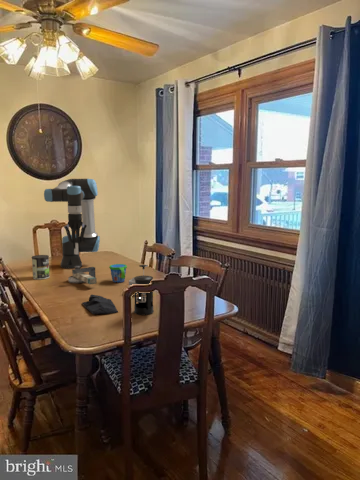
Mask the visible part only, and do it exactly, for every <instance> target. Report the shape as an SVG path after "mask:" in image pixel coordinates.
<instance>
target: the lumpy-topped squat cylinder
mask: <svg viewBox="0 0 360 480" xmlns="http://www.w3.org/2000/svg"><path fill="white" fill-rule="evenodd" d="M132 284H136V283H135V279H134V277H132V278H131V279H129V280H128V286H129V285H132ZM136 294H137V293H136ZM142 294H143V293H142ZM144 296H146V293H144Z"/></svg>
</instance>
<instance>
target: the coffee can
mask: <svg viewBox="0 0 360 480" xmlns="http://www.w3.org/2000/svg"><path fill="white" fill-rule="evenodd" d="M49 258H50V256H49V255H48V254H38V255H36V254H35V255H31V265H32V267H31V269H32V279H33V280H46V279H49V278H50V265H49V264H50V262H49V261H50V260H49Z"/></svg>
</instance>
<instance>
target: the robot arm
mask: <svg viewBox="0 0 360 480" xmlns="http://www.w3.org/2000/svg"><path fill="white" fill-rule="evenodd" d="M94 179H95V178H94ZM94 179H93V178H69V179H65V180H63V181H60V182H59V183H58V184H57V186H55V187H54V188H45V189H44V191H43V192H44V193H43V197H44V201H45V202H50V203H54V202H55V203H56V202H58V203H61V202H62V203H63V202H64V203H65V202H66V203H67V213H68V214H67V219H68V220H67V221H68V222H67V224H66V225H63V228H64V229H65V232H66V235H64V236H63V237H62V239H61V244H62V245H61V246H62V249H61V250H62V257H61V262H60V268H62V269H75V268H74V266H80V268H81V267H82V266H83V262H82V260H81V257H80V253H97V252H99V249H100V241H101V237H100V235H98V232H96V222H95V221H96V219H95V205H94V200H96V197H97V196H98V195H99V194H98V193H99V191H98V186H97V182H96V180H94Z"/></svg>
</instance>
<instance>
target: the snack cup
mask: <svg viewBox="0 0 360 480" xmlns="http://www.w3.org/2000/svg"><path fill="white" fill-rule="evenodd" d="M127 268H128V266H127V265H126V264H124V263H116V264H115V263H114V264H111V265H109V269H110V276H111V281H112V282H113V283H115V284H117V283H123V282H125V280H126V273H127ZM116 282H117V283H116Z"/></svg>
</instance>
